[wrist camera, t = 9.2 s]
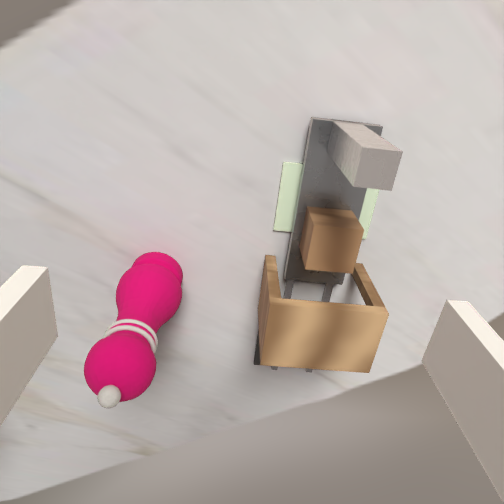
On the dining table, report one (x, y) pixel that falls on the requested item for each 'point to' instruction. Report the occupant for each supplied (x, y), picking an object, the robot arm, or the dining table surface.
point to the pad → (290, 193)
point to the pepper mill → (134, 330)
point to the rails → (288, 296)
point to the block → (330, 240)
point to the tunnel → (319, 327)
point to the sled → (338, 180)
